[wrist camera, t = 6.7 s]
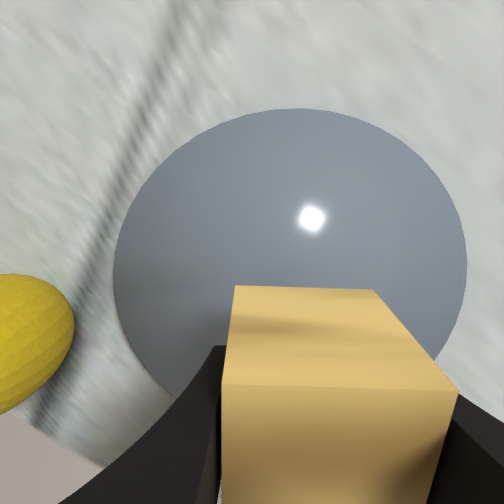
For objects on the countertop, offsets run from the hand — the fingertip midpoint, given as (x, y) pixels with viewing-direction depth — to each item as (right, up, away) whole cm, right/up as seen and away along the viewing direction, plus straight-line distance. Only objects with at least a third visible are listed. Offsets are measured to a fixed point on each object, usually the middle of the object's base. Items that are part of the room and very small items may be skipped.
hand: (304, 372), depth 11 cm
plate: (0, +2, +6) cm, 7 cm away
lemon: (-13, +2, +7) cm, 15 cm away
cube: (0, +1, +1) cm, 1 cm away
